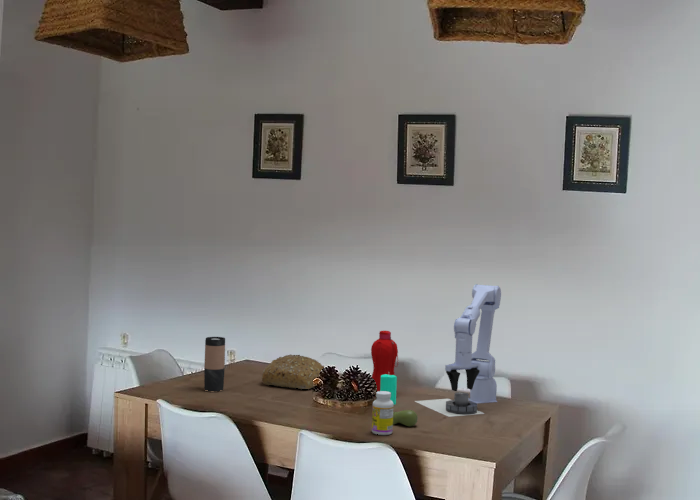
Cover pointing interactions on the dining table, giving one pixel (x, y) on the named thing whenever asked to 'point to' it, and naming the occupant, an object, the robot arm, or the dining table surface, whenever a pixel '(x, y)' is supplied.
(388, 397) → the supplement bottle
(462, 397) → the cap
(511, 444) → the dining table surface
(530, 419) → the dining table surface
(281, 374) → the bread
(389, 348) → the water bottle
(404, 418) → the pear
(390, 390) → the candle
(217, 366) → the travel mug
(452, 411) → the toothed grey gear
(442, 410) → the mat
